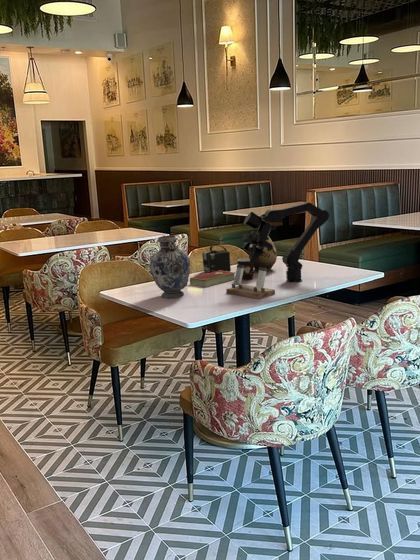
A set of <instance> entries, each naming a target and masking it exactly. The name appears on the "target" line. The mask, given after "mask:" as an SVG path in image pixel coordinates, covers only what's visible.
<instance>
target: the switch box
mask: <svg viewBox="0 0 420 560" xmlns="http://www.w3.org/2000/svg"><path fill="white" fill-rule="evenodd" d="M226 294H229V295H233V296H234V295H235V296H240V297H243V298H244V297H245V298H252V299H256V300H260V299H264V298H266V297H269V296H272V295H273V296H274V295H275V294H276V290H275V289H273V288H269V287H268V288H266V287H263V288H262V289H258V288H256V285H249V284H241V285H234V282H233V283H232V284H231V287H229V288H226Z"/></svg>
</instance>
